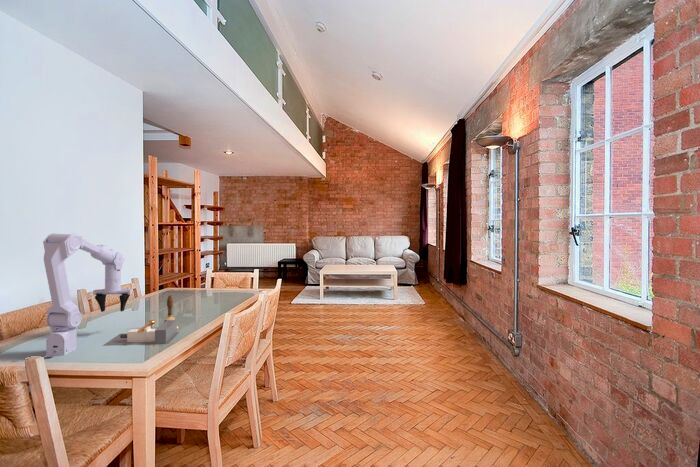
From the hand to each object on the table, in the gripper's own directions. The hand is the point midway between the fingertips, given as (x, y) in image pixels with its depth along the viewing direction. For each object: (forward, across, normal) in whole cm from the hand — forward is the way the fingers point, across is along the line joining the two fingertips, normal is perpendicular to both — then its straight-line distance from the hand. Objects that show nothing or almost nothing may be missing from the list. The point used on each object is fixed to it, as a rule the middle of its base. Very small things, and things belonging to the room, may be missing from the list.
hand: (112, 311), depth 160 cm
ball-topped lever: (+5, -17, +11) cm, 21 cm away
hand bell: (+10, -22, -3) cm, 25 cm away
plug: (+9, -17, +13) cm, 24 cm away
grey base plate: (+10, -16, +12) cm, 22 cm away
